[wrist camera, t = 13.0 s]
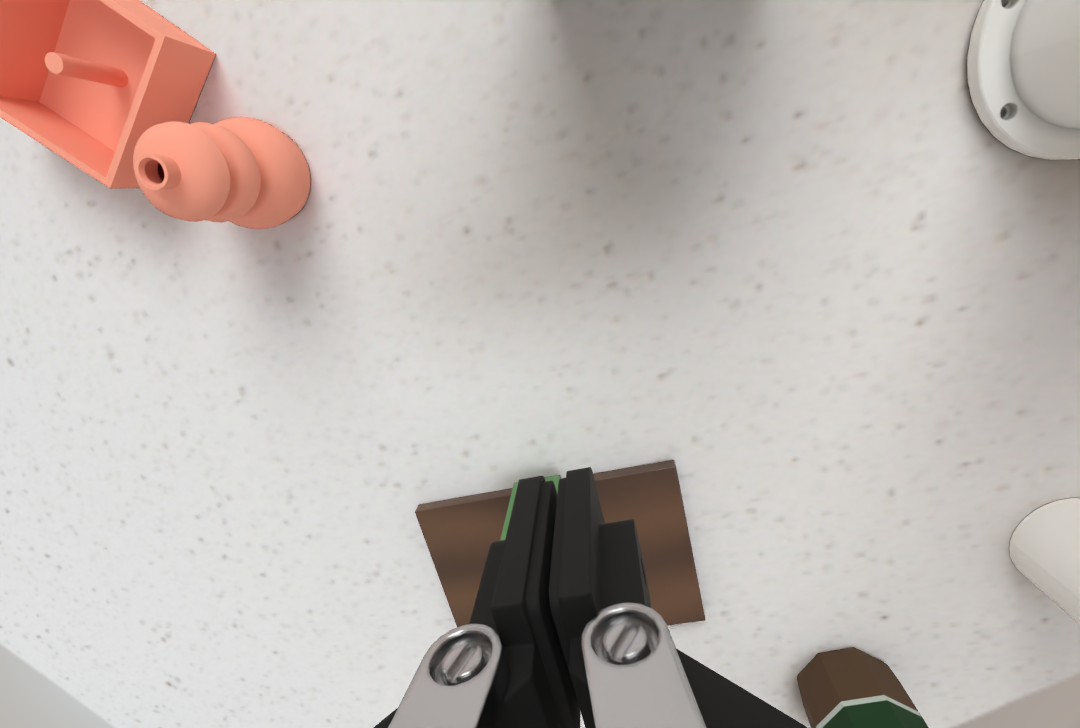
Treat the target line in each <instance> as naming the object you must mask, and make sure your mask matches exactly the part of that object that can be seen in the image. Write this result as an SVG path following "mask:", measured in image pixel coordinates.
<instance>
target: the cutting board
mask: <svg viewBox="0 0 1080 728" xmlns="http://www.w3.org/2000/svg"><path fill="white" fill-rule="evenodd" d="M593 476H594V480H595V484H596V488H597V492H598V496H599V501H600V505H601V509H602V513H603V517H604V521H605V523H612V522H618V521H624V520H630V519H634V521H635V525H636V529H637V534H638V538H639V542H640V547H641V551H642V556H643V561H644V566H645V571H646V576H647V582H648V588H649V594H650V601H651V607H652V609H653V610H655V611H656V612H657V613H658V614H660V615H661V616H662V618H663V620H664V621H665V623H666V624H667V625H673V624H681V623H688V622H696V621H704V620H705V615H704V610H703V605H702V600H701V595H700V589H699V584H698V579H697V574H696V569H695V564H694V558H693V553H692V548H691V543H690V538H689V533H688V527H687V522H686V517H685V512H684V507H683V501H682V496H681V491H680V486H679V481H678V476H677V470H676V466H675V463H674V460H670V461H664V462H658V463H653V464H647V465H641V466H636V467H630V468H625V469H619V470H613V471H608V472H602V473H596V474H593ZM512 489H513V488H511V489H506V490H500V491H494V492H489V493H483V494H477V495H472V496H466V497H460V498H455V499H449V500H443V501H438V502H432V503H426V504H421V505H418V507H417V509H416V511H415V513H416V516H417V518H418V521H419V524H420V527H421V529H422V532H423V535H424V538H425V540H426V543H427V546H428V548H429V551H430V554H431V557H432V559H433V562H434V565H435V568H436V570H437V573H438V576H439V578H440V581H441V584H442V587H443V589H444V592H445V595H446V598H447V600H448V603H449V606H450V608H451V611H452V614H453V617H454V619H455V622H456V625H457V627H460V626H463V625H468V624H469V623H470V619H471V615H472V612H473V608H474V604H475V600H476V597H477V593H478V589H479V585H480V582H481V578H482V574H483V570H484V567H485V563H486V559H487V555H488V552H489V548H490V545H491V543H492V542H494V541H500V539H501V535H502V531H503V526H504V522H505V518H506V514H507V510H508V506H509V502H510V498H511V493H512Z"/></svg>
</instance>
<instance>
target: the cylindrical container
mask: <svg viewBox="0 0 1080 728" xmlns="http://www.w3.org/2000/svg"><path fill="white" fill-rule="evenodd" d="M1009 551H1010V557H1011V559H1012V562H1013V564H1014V565H1015V566H1016V568H1017V569H1018V570H1019V571H1020V572H1021V573H1023V574H1024V575H1025V576H1026V577H1027V578H1028V579H1029V580H1030V581H1031V582H1033V583H1034V584H1035V585H1036V586H1037V587H1038V588H1039V589H1040V590H1042V591H1043V592H1044V593H1045V594H1046V595H1047V596H1048V597H1049V598H1051V599H1052V600H1053V601H1054V602H1055V603H1056V604H1057V605H1058V606H1059V607H1061V608H1062V609H1063V610H1064V611H1065V612H1066V613H1067V614H1068V615H1070V616H1071V617H1072V618H1073V619H1074V620H1075V621H1076V622H1077V623H1079V624H1080V498H1069V499H1063V500H1058V501H1054V502H1052V503H1049V504H1046V505H1044V506H1042V507H1040V508H1038V509H1036V510H1035V511H1033V512H1032V513H1031V514H1029V515H1028V516H1027V517H1025V518H1024V520H1023V521H1022V522H1021V523H1020V524H1019V525H1018V526H1017V528H1016V529H1015V531H1014V533H1013V535H1012V538H1011V540H1010V546H1009Z"/></svg>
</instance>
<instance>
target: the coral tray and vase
mask: <svg viewBox="0 0 1080 728" xmlns="http://www.w3.org/2000/svg"><path fill="white" fill-rule="evenodd" d="M215 55H216V54H215V53H214V52H212V51H211V50H210V49H208V48H207V47H205V46H204V45H202V44H201V43H200V42H198V41H197V40H195V39H194V38H192V37H191V36H189V35H188V34H187V33H185V32H184V31H182V30H181V29H179V28H178V27H177V26H175V25H174V24H172V23H171V22H169V21H168V20H167V19H165V18H164V17H162V16H161V15H159V14H158V13H156V12H155V11H154V10H152V9H151V8H149V7H148V6H146V5H145V4H144V3H142V2H141V1H139V0H0V117H1V118H2V119H4V120H5V121H7V122H8V123H10V124H11V125H13V126H14V127H16V128H18V129H19V130H21V131H22V132H24V133H25V134H27V135H28V136H30V137H31V138H33V139H35V140H36V141H38V142H39V143H41V144H42V145H44V146H45V147H47V148H48V149H50V150H52V151H53V152H55V153H56V154H58V155H59V156H61V157H62V158H64V159H65V160H67V161H69V162H70V163H72V164H73V165H75V166H76V167H78V168H79V169H81V170H82V171H84V172H86V173H87V174H89V175H90V176H92V177H93V178H95V179H96V180H98V181H99V182H101V183H103V184H104V185H106V186H107V187H109V188H140V189H141V190H142V192H143V194H144V195H145V196H146V198H147V199H148V200H149V201H150V202H151V203H152V204H153V205H154V206H155V207H156V208H157V209H159V210H160V211H162V212H163V213H165V214H167V215H169V216H171V217H174V218H177V219H181V220H185V221H202V220H208V221H212V222H226V221H230V222H232V223H234V224H236V225H239V226H243V227H247V228H252V229H265V228H270V227H276V226H278V225H280V224H282V223H284V222H286V221H287V220H289V219H290V218H292V217H293V216H294V215H296V214H297V213H298V212H299V211H300V210H301V209H302V208H303V206H304V205H305V203H306V201H307V199H308V196H309V192H310V183H311V179H310V171H309V168H308V164H307V161H306V159H305V157H304V155H303V153H302V152H301V150H300V149H299V147H298V146H297V145H296V144H295V143H294V142H293V141H292V140H291V139H290V138H289V137H288V136H286V135H285V134H284V133H282V132H280V131H279V130H278V129H276V128H275V127H273V126H272V125H270V124H267V123H265V122H263V121H261V120H256V119H252V118H248V117H234V118H229V119H224V120H221V121H219V122H217V123H215V124H211V123H207V122H196V123H191V124H188V123H189V121H190V118H191V116H192V113H193V111H194V108H195V106H196V103H197V101H198V98H199V96H200V93H201V91H202V88H203V86H204V83H205V81H206V78H207V75H208V73H209V70H210V68H211V65H212V63H213V60H214V58H215Z"/></svg>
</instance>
